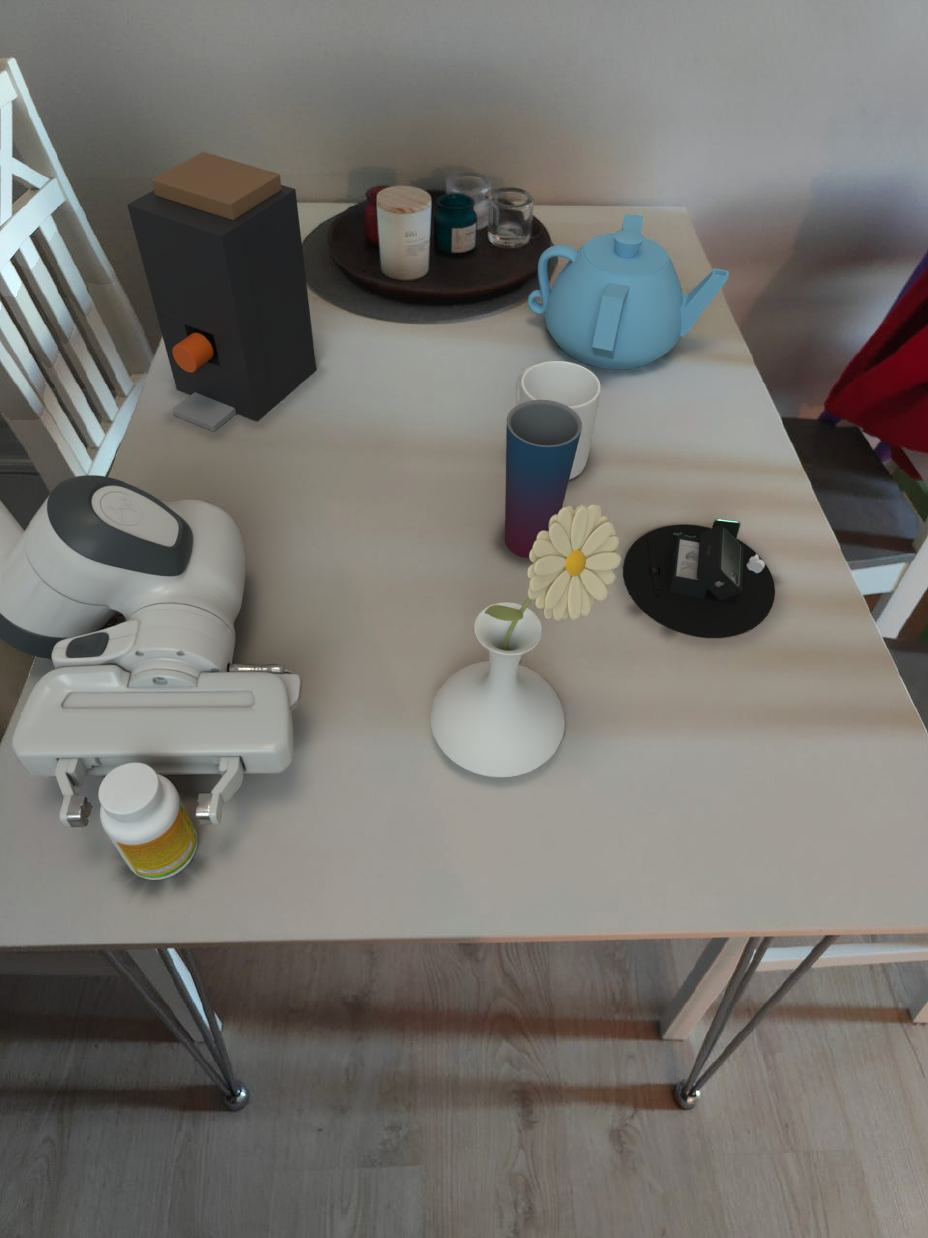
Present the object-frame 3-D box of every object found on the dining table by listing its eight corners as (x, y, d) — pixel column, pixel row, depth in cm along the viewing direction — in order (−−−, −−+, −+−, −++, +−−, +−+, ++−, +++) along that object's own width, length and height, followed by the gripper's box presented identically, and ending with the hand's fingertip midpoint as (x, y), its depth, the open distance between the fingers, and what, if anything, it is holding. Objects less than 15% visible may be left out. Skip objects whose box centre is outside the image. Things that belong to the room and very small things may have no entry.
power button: (198, 376, 93) (192, 350, 91) (175, 367, 94) (169, 341, 92) (216, 362, 95) (210, 337, 93) (193, 354, 96) (187, 328, 94)
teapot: (589, 392, 104) (608, 287, 94) (510, 316, 115) (518, 213, 104) (711, 354, 111) (741, 251, 100) (625, 285, 121) (644, 185, 111)
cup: (507, 569, 85) (520, 451, 74) (487, 523, 89) (497, 404, 78) (571, 558, 87) (593, 440, 75) (549, 513, 91) (567, 394, 79)
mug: (485, 430, 99) (490, 352, 91) (546, 412, 102) (556, 335, 94) (536, 493, 93) (546, 416, 85) (600, 472, 95) (616, 395, 87)
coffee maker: (235, 440, 97) (190, 236, 78) (153, 407, 100) (92, 203, 82) (316, 370, 106) (293, 172, 88) (239, 341, 109) (201, 145, 91)
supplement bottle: (213, 842, 66) (185, 780, 58) (158, 896, 63) (122, 839, 56) (166, 803, 68) (134, 739, 60) (111, 854, 65) (70, 793, 58)
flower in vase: (450, 801, 69) (460, 599, 49) (415, 689, 76) (412, 473, 56) (600, 764, 71) (664, 559, 52) (553, 659, 78) (595, 443, 59)
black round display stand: (773, 652, 80) (793, 614, 75) (614, 620, 82) (624, 581, 77) (774, 541, 89) (791, 502, 85) (631, 515, 91) (641, 476, 87)
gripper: (307, 687, 72) (293, 839, 63) (60, 688, 71) (10, 844, 62) (300, 641, 67) (283, 799, 58) (33, 642, 66) (-24, 804, 57)
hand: (140, 822), depth 60 cm, fingers open, 8 cm apart
